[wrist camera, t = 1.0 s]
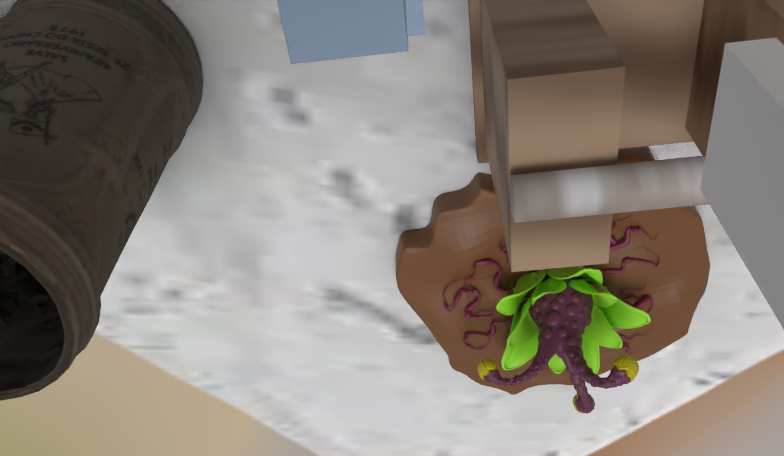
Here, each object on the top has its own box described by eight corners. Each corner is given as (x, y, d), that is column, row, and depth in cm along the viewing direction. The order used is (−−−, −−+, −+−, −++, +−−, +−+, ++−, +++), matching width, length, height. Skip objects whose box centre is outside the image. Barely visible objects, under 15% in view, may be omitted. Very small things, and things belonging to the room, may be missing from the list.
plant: (725, 314, 54) (792, 444, 45) (478, 393, 59) (495, 522, 50) (659, 95, 43) (730, 210, 34) (362, 216, 48) (357, 342, 39)
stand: (465, -45, 37) (500, 81, 26) (811, -87, 36) (999, 26, 25) (476, 154, 44) (506, 318, 33) (763, 124, 43) (892, 284, 32)
